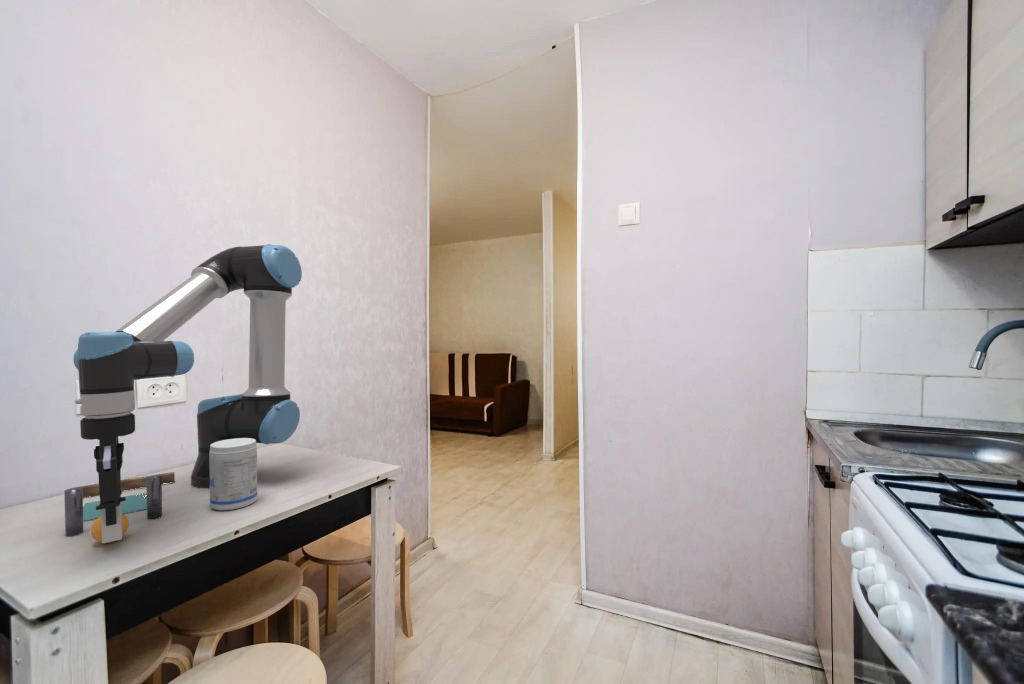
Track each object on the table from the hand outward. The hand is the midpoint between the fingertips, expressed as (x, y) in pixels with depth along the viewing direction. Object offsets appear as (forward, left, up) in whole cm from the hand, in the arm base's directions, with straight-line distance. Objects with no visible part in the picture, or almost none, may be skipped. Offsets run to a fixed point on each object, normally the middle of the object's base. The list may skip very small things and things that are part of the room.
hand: (112, 539), depth 83 cm
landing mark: (0, -27, -2) cm, 27 cm away
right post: (-6, -13, -2) cm, 15 cm away
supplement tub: (-21, -11, -2) cm, 24 cm away
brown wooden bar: (0, -41, -2) cm, 41 cm away
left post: (+7, -13, -2) cm, 15 cm away
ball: (+1, -4, +1) cm, 4 cm away
